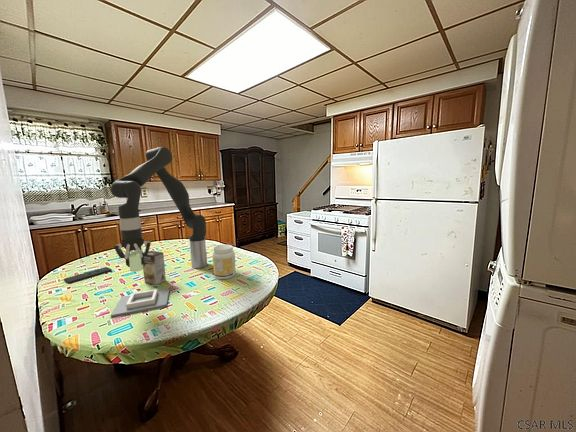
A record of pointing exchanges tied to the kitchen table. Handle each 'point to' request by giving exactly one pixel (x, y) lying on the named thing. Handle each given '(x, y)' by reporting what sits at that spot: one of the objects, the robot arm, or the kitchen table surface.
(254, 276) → the kitchen table surface
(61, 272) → the kitchen table surface
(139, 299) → the holder board
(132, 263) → the candle
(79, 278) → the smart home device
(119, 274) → the kitchen table surface
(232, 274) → the supplement tub
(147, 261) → the coffee box
